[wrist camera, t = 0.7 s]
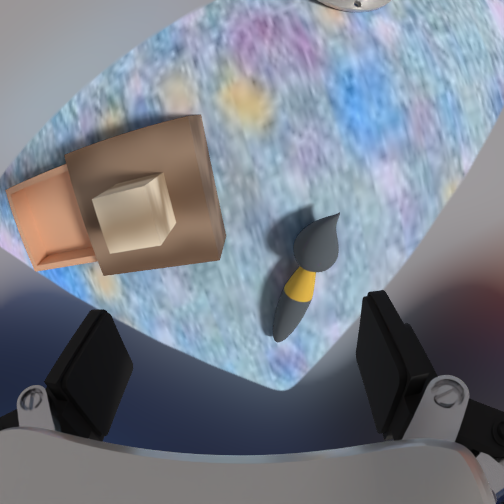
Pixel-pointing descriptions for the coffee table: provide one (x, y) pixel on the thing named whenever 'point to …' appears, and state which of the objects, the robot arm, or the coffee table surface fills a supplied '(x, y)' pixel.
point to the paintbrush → (305, 273)
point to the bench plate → (178, 184)
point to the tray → (50, 221)
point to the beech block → (135, 213)
